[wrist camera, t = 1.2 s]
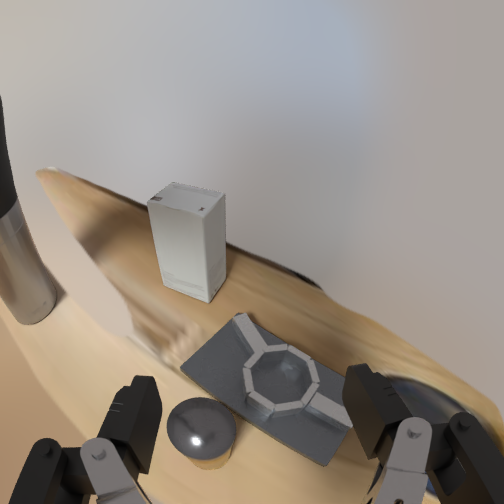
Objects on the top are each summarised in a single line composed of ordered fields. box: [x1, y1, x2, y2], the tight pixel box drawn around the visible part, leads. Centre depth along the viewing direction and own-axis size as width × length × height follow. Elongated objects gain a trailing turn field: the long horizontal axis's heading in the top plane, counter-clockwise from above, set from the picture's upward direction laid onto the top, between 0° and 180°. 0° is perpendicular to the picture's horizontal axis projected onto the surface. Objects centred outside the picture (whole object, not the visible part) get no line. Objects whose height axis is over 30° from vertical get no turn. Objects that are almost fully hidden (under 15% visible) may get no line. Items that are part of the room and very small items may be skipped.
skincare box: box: [147, 182, 226, 303], centre depth 37 cm, size 8×6×15 cm
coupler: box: [167, 397, 236, 470], centre depth 19 cm, size 5×5×12 cm
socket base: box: [180, 313, 353, 467], centre depth 29 cm, size 20×11×4 cm, turn 54°
